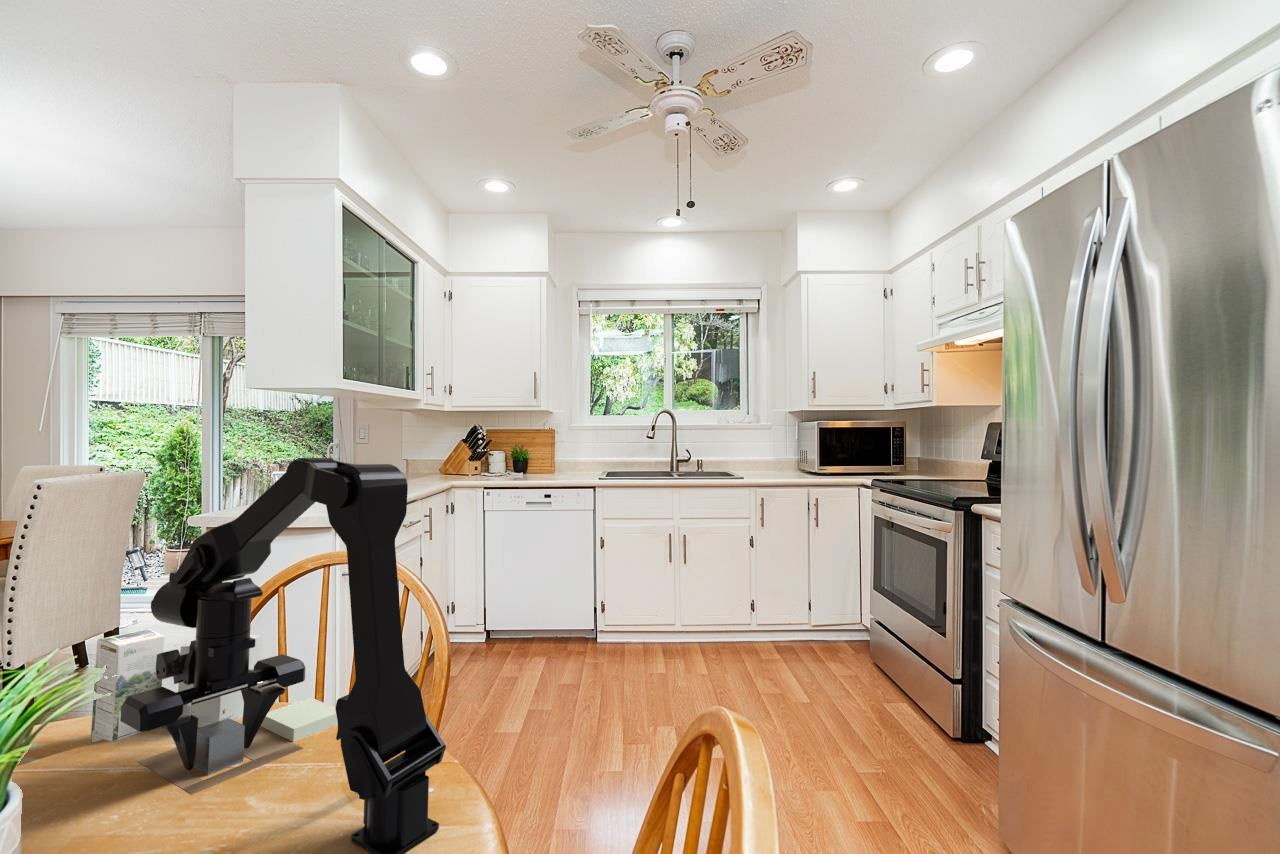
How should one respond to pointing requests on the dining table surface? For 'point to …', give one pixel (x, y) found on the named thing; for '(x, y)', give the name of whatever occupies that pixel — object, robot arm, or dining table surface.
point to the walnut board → (259, 752)
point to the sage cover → (301, 719)
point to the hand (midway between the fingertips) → (218, 758)
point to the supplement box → (225, 704)
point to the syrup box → (123, 679)
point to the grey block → (219, 746)
